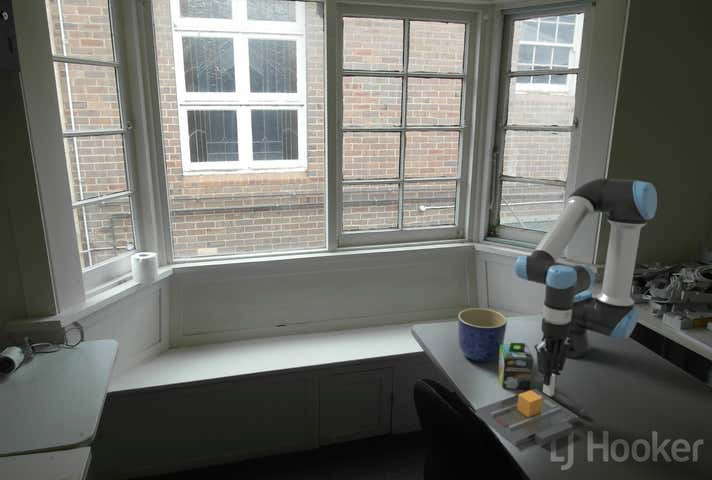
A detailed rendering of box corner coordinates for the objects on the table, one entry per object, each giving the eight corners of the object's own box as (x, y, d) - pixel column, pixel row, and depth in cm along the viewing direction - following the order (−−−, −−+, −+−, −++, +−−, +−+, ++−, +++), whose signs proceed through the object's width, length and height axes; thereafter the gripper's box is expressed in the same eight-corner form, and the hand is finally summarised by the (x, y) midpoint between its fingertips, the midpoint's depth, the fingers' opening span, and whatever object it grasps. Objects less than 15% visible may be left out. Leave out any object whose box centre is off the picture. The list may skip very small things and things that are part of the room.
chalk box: (525, 375, 163) (528, 335, 159) (531, 390, 154) (535, 348, 150) (497, 374, 164) (500, 334, 160) (501, 388, 155) (505, 347, 151)
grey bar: (534, 441, 130) (535, 433, 130) (565, 428, 135) (566, 421, 135) (541, 446, 128) (541, 438, 128) (572, 433, 133) (573, 425, 133)
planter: (501, 371, 166) (504, 330, 162) (452, 362, 172) (454, 323, 168) (505, 349, 181) (509, 311, 177) (460, 342, 187) (462, 305, 183)
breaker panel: (475, 414, 142) (476, 407, 142) (534, 393, 153) (535, 386, 152) (515, 446, 128) (516, 438, 128) (577, 420, 139) (578, 413, 138)
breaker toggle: (517, 409, 141) (518, 394, 140) (529, 404, 143) (530, 390, 142) (528, 417, 137) (529, 402, 136) (541, 412, 140) (542, 397, 138)
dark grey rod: (541, 393, 153) (541, 386, 152) (546, 391, 154) (547, 384, 153) (582, 419, 139) (583, 412, 139) (588, 417, 140) (588, 410, 140)
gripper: (550, 329, 131) (542, 405, 136) (583, 320, 136) (573, 394, 142) (529, 319, 137) (522, 392, 143) (561, 311, 143) (553, 382, 149)
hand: (548, 393), depth 143 cm, fingers closed
